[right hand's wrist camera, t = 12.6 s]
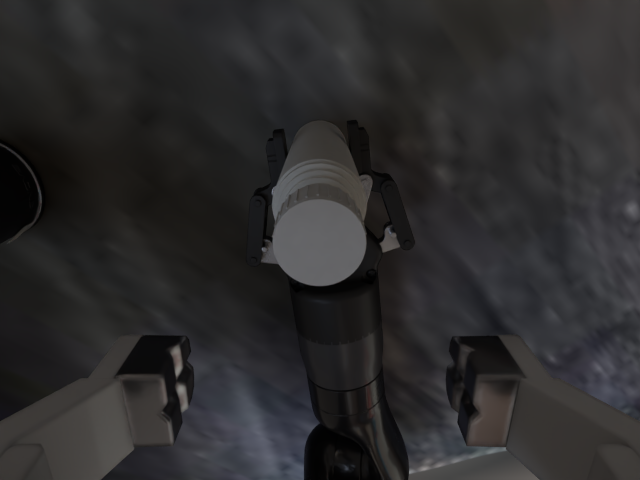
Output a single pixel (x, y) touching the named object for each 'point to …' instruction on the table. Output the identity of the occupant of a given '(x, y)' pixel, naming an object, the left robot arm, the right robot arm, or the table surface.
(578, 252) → the table surface
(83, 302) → the table surface
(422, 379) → the table surface
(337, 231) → the cap
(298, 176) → the bottle
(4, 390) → the table surface
